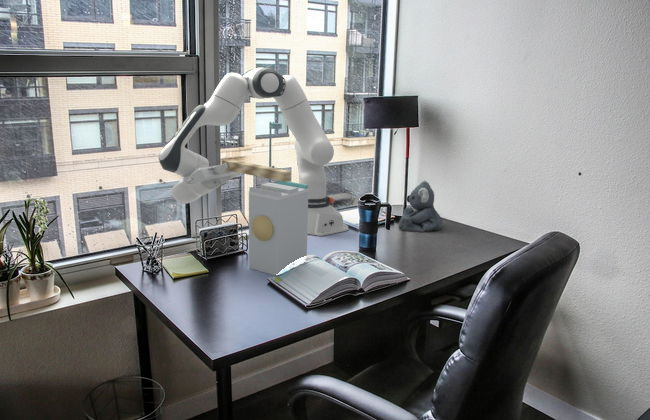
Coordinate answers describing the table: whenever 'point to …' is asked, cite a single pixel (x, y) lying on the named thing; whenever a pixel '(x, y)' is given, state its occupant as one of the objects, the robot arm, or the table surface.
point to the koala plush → (421, 211)
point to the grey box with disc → (277, 225)
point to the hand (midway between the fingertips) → (232, 163)
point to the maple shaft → (258, 170)
